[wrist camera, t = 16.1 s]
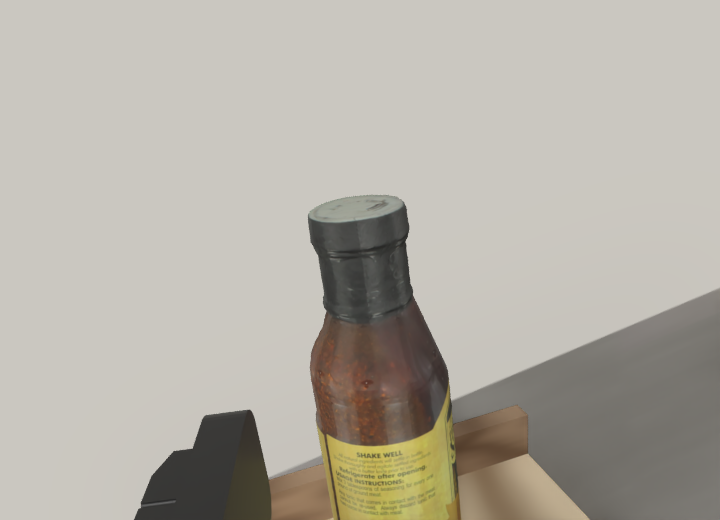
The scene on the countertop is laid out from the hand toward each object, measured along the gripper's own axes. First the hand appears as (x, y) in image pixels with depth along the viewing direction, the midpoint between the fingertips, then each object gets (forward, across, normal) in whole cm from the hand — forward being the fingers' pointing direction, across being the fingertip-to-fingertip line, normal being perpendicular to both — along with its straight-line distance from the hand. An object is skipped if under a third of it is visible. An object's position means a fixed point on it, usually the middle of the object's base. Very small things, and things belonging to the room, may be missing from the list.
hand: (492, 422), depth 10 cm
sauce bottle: (+14, +2, +20) cm, 25 cm away
